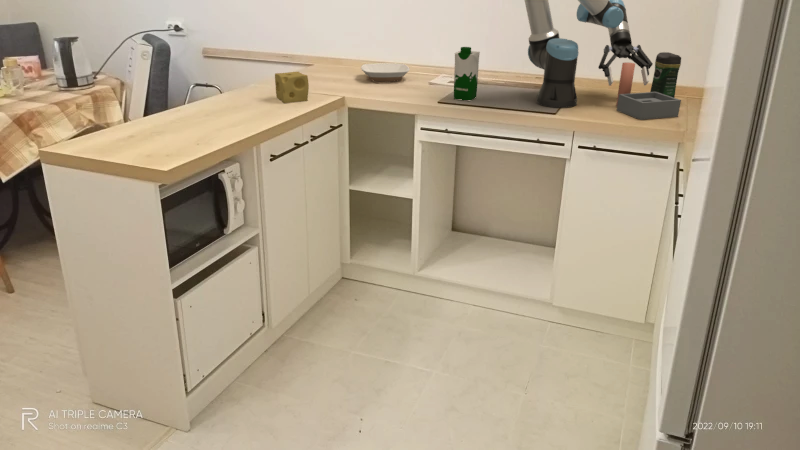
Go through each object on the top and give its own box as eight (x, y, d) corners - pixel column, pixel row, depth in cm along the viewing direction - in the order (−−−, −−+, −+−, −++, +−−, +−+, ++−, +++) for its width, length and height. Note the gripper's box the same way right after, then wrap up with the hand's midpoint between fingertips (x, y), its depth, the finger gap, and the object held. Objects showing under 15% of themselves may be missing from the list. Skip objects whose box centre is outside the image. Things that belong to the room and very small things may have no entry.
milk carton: (450, 99, 250) (452, 47, 242) (458, 95, 257) (461, 44, 249) (471, 102, 247) (474, 49, 238) (479, 97, 254) (482, 46, 246)
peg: (620, 107, 240) (627, 64, 233) (613, 105, 244) (619, 62, 237) (630, 107, 241) (637, 64, 234) (623, 104, 245) (630, 62, 238)
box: (640, 119, 224) (643, 103, 222) (616, 110, 236) (618, 94, 234) (677, 116, 229) (681, 100, 226) (652, 107, 241) (655, 91, 238)
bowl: (359, 74, 294) (359, 63, 292) (406, 74, 297) (406, 62, 294) (362, 84, 275) (362, 72, 273) (412, 83, 277) (412, 71, 275)
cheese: (283, 104, 242) (282, 77, 238) (275, 98, 251) (273, 72, 247) (309, 101, 246) (308, 75, 242) (300, 95, 255) (298, 70, 251)
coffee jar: (677, 103, 247) (686, 54, 239) (657, 104, 246) (666, 55, 238) (664, 98, 255) (672, 50, 248) (645, 98, 254) (653, 51, 247)
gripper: (647, 41, 251) (656, 88, 243) (585, 42, 249) (592, 89, 242) (655, 30, 244) (665, 77, 236) (591, 30, 242) (599, 78, 235)
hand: (628, 83), depth 239 cm, fingers open, 13 cm apart
